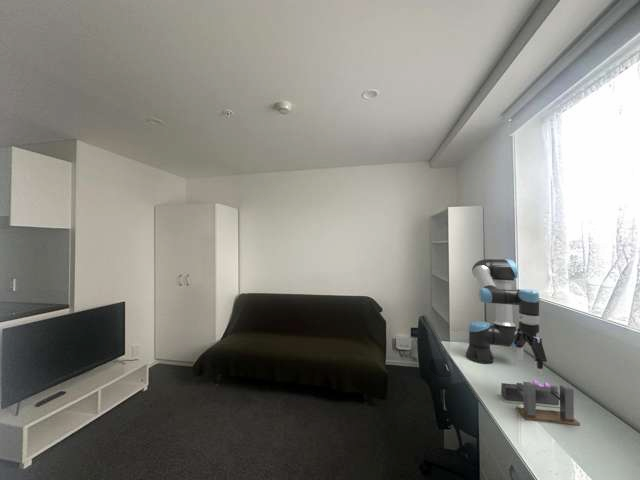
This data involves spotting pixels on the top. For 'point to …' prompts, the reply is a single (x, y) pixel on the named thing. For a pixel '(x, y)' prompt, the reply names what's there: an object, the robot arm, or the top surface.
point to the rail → (512, 394)
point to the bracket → (540, 384)
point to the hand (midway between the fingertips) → (528, 367)
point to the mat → (536, 403)
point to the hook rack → (546, 415)
